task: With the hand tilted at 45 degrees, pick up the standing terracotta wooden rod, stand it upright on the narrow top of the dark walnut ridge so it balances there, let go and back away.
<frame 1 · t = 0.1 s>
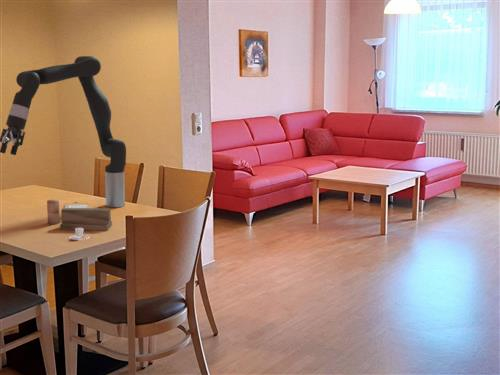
hand: (7, 153, 259), 31 cm above the table, tool tilted 20°, fingers open, 8 cm apart
ridge: (86, 227, 265), on the table
rod: (53, 222, 272), on the table
teacup and saucer: (71, 239, 248), on the table
baseboard molding: (73, 215, 289), on the table
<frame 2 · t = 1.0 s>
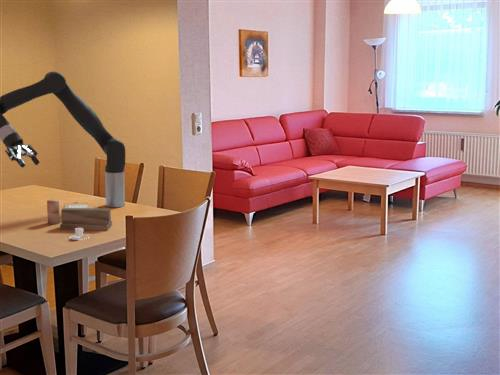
hand: (31, 165, 271), 25 cm above the table, tool tilted 45°, fingers open, 8 cm apart
nothing on the table moved.
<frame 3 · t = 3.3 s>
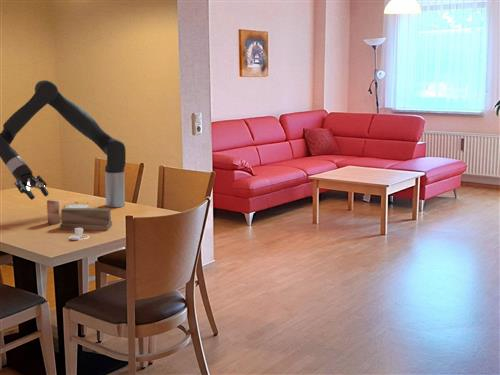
hand: (40, 196, 272), 11 cm above the table, tool tilted 45°, fingers open, 8 cm apart
nothing on the table moved.
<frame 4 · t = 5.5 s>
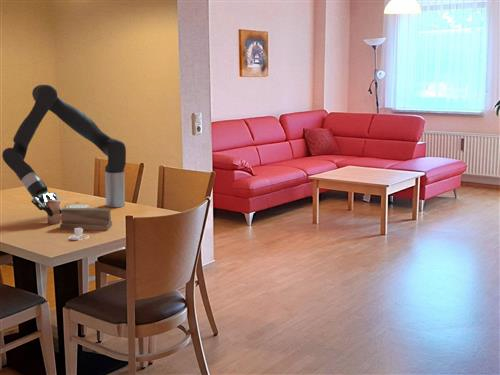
hand: (56, 214, 270), 4 cm above the table, tool tilted 45°, fingers closed on rod, 5 cm apart
rod: (53, 222, 272), on the table, touching gripper
everything else where it was.
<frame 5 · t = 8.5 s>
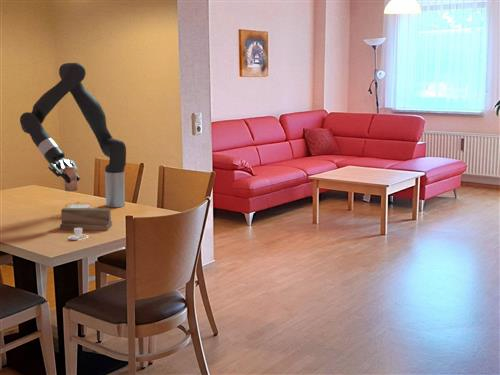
hand: (74, 181, 263), 20 cm above the table, tool tilted 45°, fingers closed on rod, 5 cm apart
rod: (71, 190, 265), point 16 cm above the table, touching gripper
everything else where it was.
when the fingers open (13 cm above the table, at t = 11.1 s): rod stays where it is, resting on ridge.
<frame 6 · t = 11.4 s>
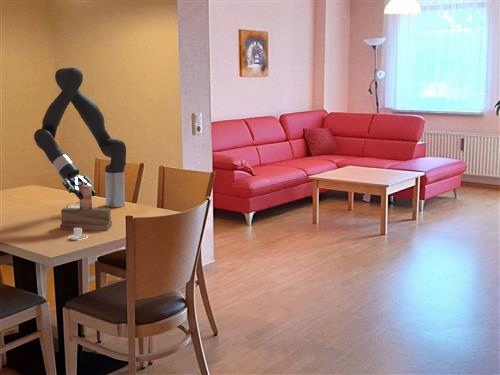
hand: (88, 196, 262), 14 cm above the table, tool tilted 45°, fingers open, 7 cm apart
rod: (85, 209, 264), point 8 cm above the table, touching ridge
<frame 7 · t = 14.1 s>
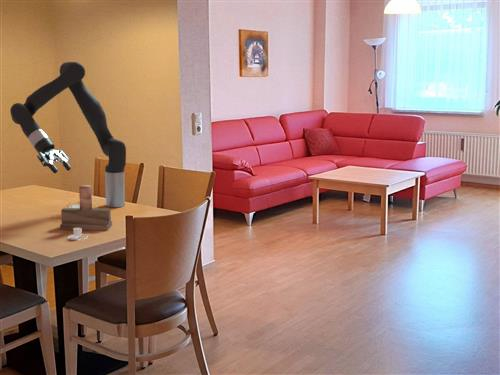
hand: (63, 170, 266), 24 cm above the table, tool tilted 45°, fingers open, 8 cm apart
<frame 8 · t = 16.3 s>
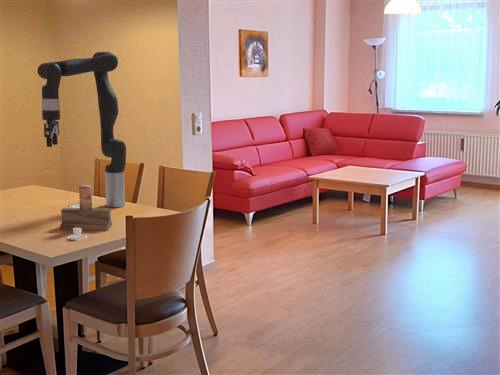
hand: (52, 145, 274), 33 cm above the table, tool pointing down, fingers open, 8 cm apart
at the end: rod inside the target area on the ridge (0.1 cm from its centre), point 8.0 cm above the ridge's base; rod tilted 0°; the gripper is holding nothing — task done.
